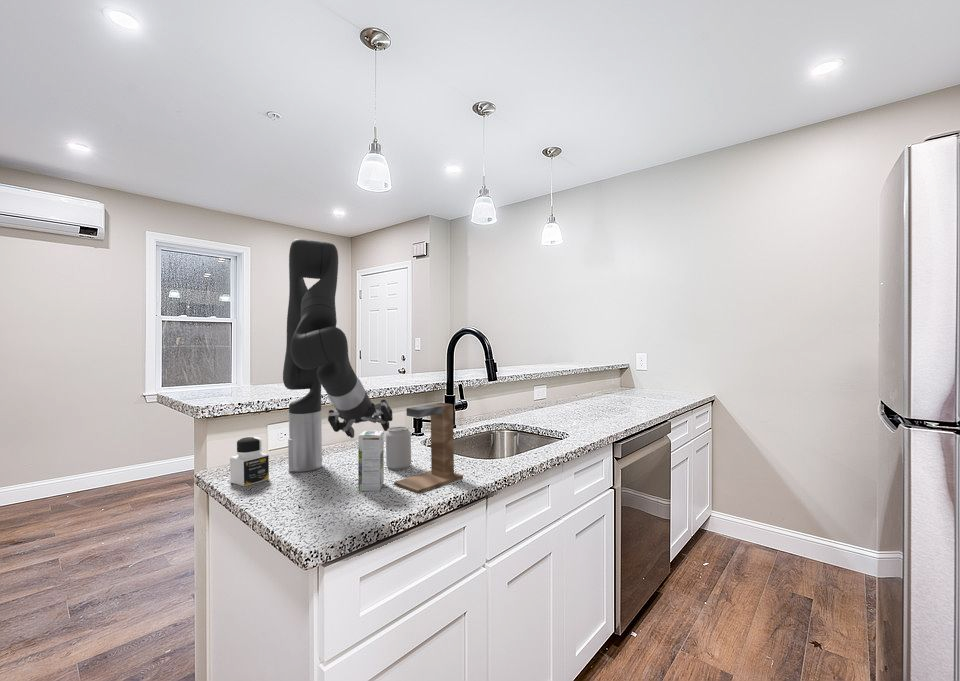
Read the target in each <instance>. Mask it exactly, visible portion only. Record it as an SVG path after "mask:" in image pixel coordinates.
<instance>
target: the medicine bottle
mask: <svg viewBox="0 0 960 681" xmlns="http://www.w3.org/2000/svg"><path fill="white" fill-rule="evenodd" d="M262 450H263V449H262V438H261V437H258V436H247V437H241V438H240V439H238V440H237V441H236V454H237V455H234V456H230V458H229V473H230V475H229V477H230V481H229V482H230V483H231V482H232V484H235V485H238V486H241V487H247V486H252V485H254V484H258V483H261V482H265V481H268V480H269V478H270V476H269V475H270V473H269V472H270V470H269V469H270V467H269V466H270V464H269V463H270V462H269V461H270V460H269V459H270V458H269V454H268V453H263V452H262Z"/></svg>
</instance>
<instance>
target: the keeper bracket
mask: <svg viewBox="0 0 960 681" xmlns="http://www.w3.org/2000/svg"><path fill="white" fill-rule="evenodd" d="M406 416H407V417H412V418H418V419H419V418H425V417H429V416H430V457H431V458H430V460H431V464H430V465H431V466H430V467H431V470H429V471H424V472H421V473H418V474H416V475H412V476H409V477H406V478H402V479H399V480H396V481H394V482H393V485H394V486H396V487H399V488H401V489H404V490H407V491H409V492H413V493H414V494H421V493H424V492H427V491H429V490H432V489H436V488H438V487H441V486H443V485H447V484H450V483H452V482H455V481H458V480H461V479H463V477H464V475H463V474H461V473H460V474H459V473H457V472H455V464H454V463H455V459H454V458H455V455H454V454H455V453H454V450H455V449H454V446H455V445H454V444H455V443H454V441H455V440H454V404H452V403H446V402H438V403H437V402H436V403H431V404H425V405H417V406H411V407H406Z"/></svg>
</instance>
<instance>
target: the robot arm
mask: <svg viewBox="0 0 960 681" xmlns="http://www.w3.org/2000/svg"><path fill="white" fill-rule="evenodd" d="M288 271H289V272H288V274H289V279H288V280H289V286H288V287H289V296H288V306H287V316H286V350H285V355H284V363H283V370H282V381H283V385H284V386H285V388H286V390H287V389H288V390H291V391H293V390H294V391H297V390H309V391H308V392H307V394H306V395H305V396H303V397H300V398H298V399H296V400H294V401H291V402H290V403H289V404H288V432H289V433H288V434H289V436H288V442H287V443H288V444H287V446H288V450H287V451H288V454H287V455H288V456H287V457H288V472H296V473H297V472H299V473H300V472H303V473H304V472H310V471H314V470H318V469H320V468H321V467H322V466H323V444H322V443H323V434H322V430H323V429H322V426H323V425H322V424H323V422H322V388H323V389H324V391H325V392H326V394H327V397H328V400H329V401H330V403H331V404H332V405H333V407H334V408H335V410H336V411H334V410H333V409H329V410H328V413H327V414H328V415H327V421H328V423H329V425H330V427H331V428H332V430H333V431H334V432H336V433H338V432H339V431H342V432H343V433H345V435H346V436H347V437H350V438H351V439H353V438H355V429H354V428H353V424H359V423H362V422H364V423H365V422H371V423H374V424H376V423H379V424H380V426H381V428H382V429H383V430H384V431H383V432H388V429H389V428H390V422H392V421H393V410H392V408H391V407H390V405H389V403H388V402H387V400H386V399H381V400H380V402H379V403H373V402H372V401H371V398H370V397H369V394H368V393H367V391H366V389H365V387H364V385H363V383H362V381H361V380H360V378H359V377H358V376H357V374H356V372H355V371H354V369H353V367H352V365H351V362H350V358H349V344H348V339H347V336H346V334H345V333H344V331H343V330H342V329H341V328H339V327H337V322H338V321H337V320H338V319H337V310H336V293H337V286H338V274H339V253H338V248H337V247H336V245H335V244H334V243H331V242H327V241H322V240H313V239H305V238H295V239H293V240H292V242H291V243H290V246H289V255H288ZM306 278H307V279H315V280H318V281H316V282H315V283H314V284H312V286H310V287H309V288H308V287H307V284H306V283H305V279H306ZM339 418H340V419H341V420H343V421H342V422H341V421H340V419H339Z"/></svg>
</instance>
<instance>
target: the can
mask: <svg viewBox="0 0 960 681" xmlns="http://www.w3.org/2000/svg"><path fill="white" fill-rule="evenodd" d="M385 465H386V467H387V468H388V469H390V470H392V471H393V470H394V471H400V470H405V469H408V468H409V467H410V466H411V465H412V432H411V431H410V430H409V427H408V426H401V425H400V426H392V427H391V426H390V427H389V429H388V431H386V433H385Z"/></svg>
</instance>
